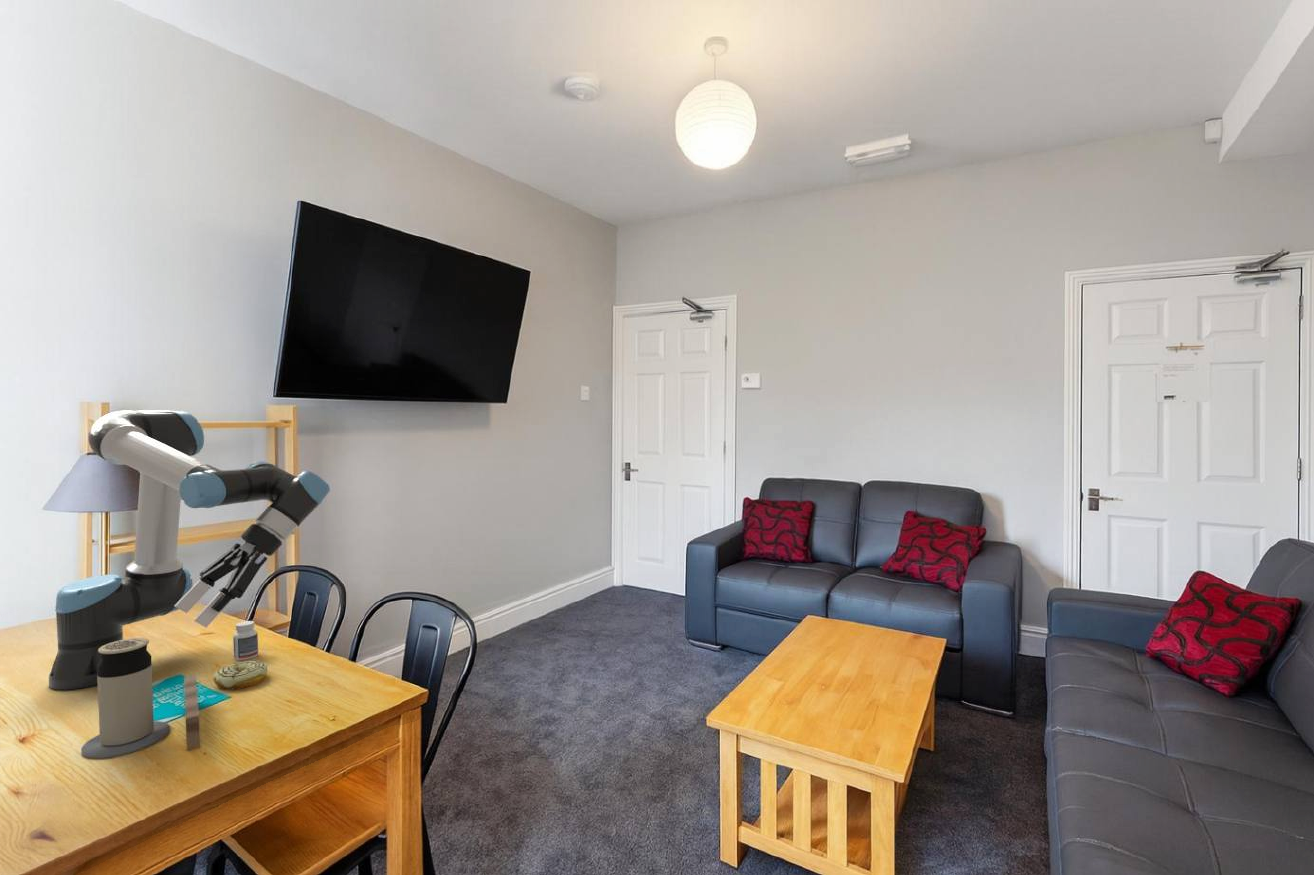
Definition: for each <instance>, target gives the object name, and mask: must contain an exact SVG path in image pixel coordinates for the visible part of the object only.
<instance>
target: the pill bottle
mask: <svg viewBox="0 0 1314 875" xmlns="http://www.w3.org/2000/svg"><path fill="white" fill-rule="evenodd" d="M235 631H236V632H234V634H233V636H232V637H233V638H232V639H233V640H232V641H233V642H232V644H233V659H234V660H235V661H247V660H246V659H248V660H251V659H254V658H256V657H258V656H259V642H258V641H259V637H258V635H259V634H258V630H256V629H255V621H252V620H246V621H241V622H238V623H236V624H235Z"/></svg>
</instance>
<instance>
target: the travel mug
mask: <svg viewBox="0 0 1314 875" xmlns="http://www.w3.org/2000/svg"><path fill="white" fill-rule="evenodd" d="M149 643H150V640H149V639H148V638H145V637H135V638H134V637H133V638H132V637H131V638H126V639H123V640H120V641H115V642H112V643H109V644H106V645H104V646H102V647H100V648H99V649H98V652H99V653H100V654H101V660H100V662H99V664H98V666H97V681H98V685H97V701H98V705H97V706H98V726H99V735H100V743H101V744H102V745H107V746H118V745H123V744H128V743H131V742H134V741H137V740H139V739H142V738H144V737H145V736H147V735H148V734H150V733H151V732H152V731H153V730H154V721H155V717H154V696H153V695H154V692H153V669H152V667H153V665H152V664H153V663H152V661H153V660H152V655H151V654H150V652H149V650H148V649H147V648H148V645H149Z"/></svg>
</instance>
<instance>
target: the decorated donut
mask: <svg viewBox="0 0 1314 875" xmlns="http://www.w3.org/2000/svg"><path fill="white" fill-rule="evenodd" d="M267 672H268V665H267V664H266V663H265V662H262V661H258V660H243V661H238V662H235V663H233V664H229V665H226V666H224V667H221V668H219V669H217V670H216V671H215V673H214V674H213V676H212V677H213V678H212V679H213V682H214V683H215V685H216V686H217V687H218V688H219V689H222V690H238V689H245V688H249V687H253V686H256V685H257V684H259V683H261V682H263V681H264V680H265V678H266V676H267V674H268V673H267Z"/></svg>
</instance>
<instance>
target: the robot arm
mask: <svg viewBox="0 0 1314 875" xmlns="http://www.w3.org/2000/svg"><path fill="white" fill-rule="evenodd" d="M87 439H88V445H89V446H90V447H89V448H91V450H92V451H93V453H95V455H97V457H100V458H101V459H103V460H104V461H107V462H109V463H111V464H113V465H118V466H119V465H120V466H121V465H126V466H127V467H130V468H132V469H134V470H136V471H138V472H139V473H140V474H139V485H138V486H139V487H138V501H137V502H138V503H137V514H136V515H137V516H136V526H135V527H136V529H135V544H134V555H133V556H134V558H133V561H131V562H130V563H128V564H127V565H126V567H125V574H124V575H125V576H124V577H122V578H121V576H120V575H119V574H111V573H110V574H103V575H99V576H91V577H87V578H83V579H80V580H76V581H74V582H71V583H69V584H67V585H64V586H63V587H62V588H61V589H60V590H58V592H57V593H56V600H55V608H54V611H55V613H56V614H55V615H56V617H55V619H56V635H57V636H56V638H57V654H56V656H55V659H54V661H53V664H52V667H51V671H50V673H49V675H48V688H50V689H52V690H57V691H59V690H62V691H64V690H76V689H82V688H88V687H94V686H98V681H97V666H98V664H99V662H100V660H101V654H100V653H99V652H98V649H99V648H100V647H102V646H104V645H106V644H109V643H112V642H115V641H120V640H124V633H123V632H124V630H123V628H124V627H123V626H126V625H130V624H133V623H137V622H140V621H145V620H148V619H151V618H152V619H153V618H155V617H160V616H166V615H168V614H170V613H172V612H176V611H178V610H180V611H182V612H184V613H185V614H188V613H189V611H191V609H192V608H193V607H194V606H195V605H196V604H197V603H199V601H200V600H201V599H202V598H203V596H205V594H206V593H207V592H209V590H210V589H211V588H214V587H215V584H216V582H218V581H219V580H220V579H222V578H224V577H225V576H226V575H228V574H229V573H231V575H230V576H229V579H228V581H227V583H226V585H225V587H221V588H220V589H219V592H217V594H216V595H215V596H214V597H213V598H212V599H211V600H210V601H209V603H207V605H205V607H203V609H202V610H201V611H200V612H198V614H197V615H196V616H195V618H194V619H193V622H195V623H197V624H199V625H200V626H202V627H204V628H208V626H209V625H211V623H212V622H213V621H214V620H215V619H216V618H217V617H218V616H219V614H220V613H221V612H222V611H223V610H224V609H225V608H226V607H227V606H228V604H230V602H232V601H233V600H235V599H241V598H242V597H243V595H244V594H245V592H246V590H247V589H248V587H249V586H250V584H251V583H252V581H253V579H254V578H255V577H256V575H257V573H259V571H260V569H261V567H262V566H263V565H264V563H266V562H267V560H268V557H266V556H269V557H270V556H274V554H275V553H276V551H278V550H279V548H280V547H281V546H282V545H283V541H286V540H287V539H288V538H289V537H290V536H291V535H294V534H296V530H297V529H298V527H299V526H300V525H301V524H302V523H303V522H304V521H305V520H306V519H307V517H308V516H309V515H310V514H311V513H313V511H314V510H315V509H316V508H317V507H318V506H319V505H321V504H322V502H323V500H324V499H325V498H326V497H327V495H328V494H329V493H330V491H331V488H330V486H329V484H328V483H327V482H326V481H325V480H324V479H323V478H321V477H320V476H319V475H317V474H316V473H314V472H312V471H309V470H303V471H301V473H299V474H297V476H296V475H293V474H291V473H290V472H289V471H286V470H284V469H282V468H280V467H279V466H277V465H274V464H273V463H269V462H266V461H260V460H259V461H254V462H252V463H251V464H247V466H246V467H245V468H241V469H239V468H238V469H226V470H223V469H219V468H216V467H214V466H212V465H209V464H207V463H205V462H203V461H201V460H199V459H197V458H194V457H193V456H195V455H197V454H200V452H201V451H202V449H203V448H204V443H205V434H204V430H203V427H202V425H201V423H200V422H199V421H198V419H197V418H196V417H195V416H194V415H192V414H191V413H188V412H186V411H180V410H179V411H178V410H168V409H167V410H118V411H112V412H110V413H107V414H105V415H103V416H101V417H100V418H99V419H98V418H97V419H96V421H95V422H94V423H93V424H92V426H91V428H90V429H89V432H88V438H87ZM181 500H182V501H183V502H184V505H185V506H187V507H189V508H190V509H203V508H204V509H212V508H216V507H221V506H227V505H234V504H235V505H236V504H242V503H243V504H244V503H249V502H250V503H251V502H257V501H263V500H264V501H268V502H270V505H269V506H267V507H266V508H265V510H264V511H263V512H262V513H261V514H260V515H259V516H258V517H256V519H255V523H253V524H250V525H249V526H248V527H247V529H246V530H244V531H243V533H242V534H241V536H240V537H241V539H242V540H244V542H245V543H244V544H242V545H241V544H240V543H238V542H237V543H235V544H234V545H233V546H232V547H231V548H230V549H229V550H227V551H226V552H225V553H224V554H222V555H221V556H220V557H218V558H217V559H215V561H213V562H212V563H210V564H209V566H207V567H205V569H203V570H202V571H200V572H199V576H200V577H199V579H198V580H197V582H196V583H195V584H194V585H193V578H191V577H192V575H191V573H190V571H189V570H188V569H187V568H185V567H184V564H183V562H182V561H180V560H179V559H178V558H177V552H178V540H179V527H180V514H181V502H182V501H181ZM265 555H266V556H265ZM232 571H233V572H232Z"/></svg>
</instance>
